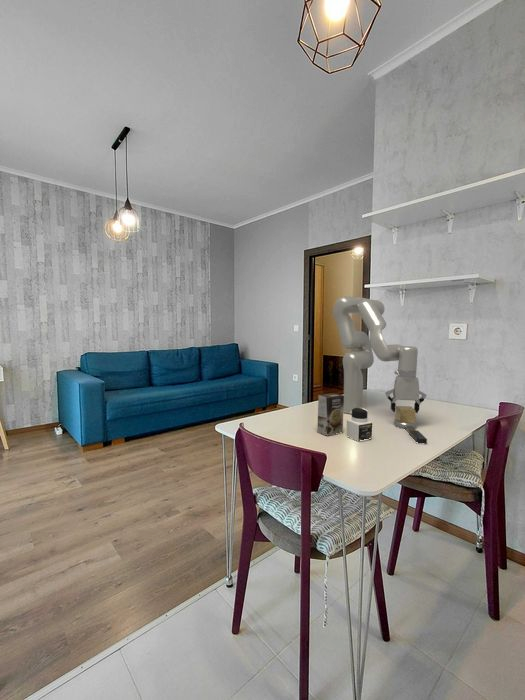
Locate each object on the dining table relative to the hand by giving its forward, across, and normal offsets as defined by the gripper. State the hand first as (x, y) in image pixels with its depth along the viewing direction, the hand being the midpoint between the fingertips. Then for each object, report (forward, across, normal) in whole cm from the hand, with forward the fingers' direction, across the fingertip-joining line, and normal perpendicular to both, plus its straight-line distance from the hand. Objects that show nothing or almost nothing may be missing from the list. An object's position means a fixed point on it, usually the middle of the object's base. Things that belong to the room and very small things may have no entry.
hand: (404, 411), depth 149 cm
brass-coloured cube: (+4, 0, 0) cm, 4 cm away
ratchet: (+6, 0, -9) cm, 11 cm away
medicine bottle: (+7, -23, -19) cm, 31 cm away
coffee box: (+7, -34, -14) cm, 37 cm away
